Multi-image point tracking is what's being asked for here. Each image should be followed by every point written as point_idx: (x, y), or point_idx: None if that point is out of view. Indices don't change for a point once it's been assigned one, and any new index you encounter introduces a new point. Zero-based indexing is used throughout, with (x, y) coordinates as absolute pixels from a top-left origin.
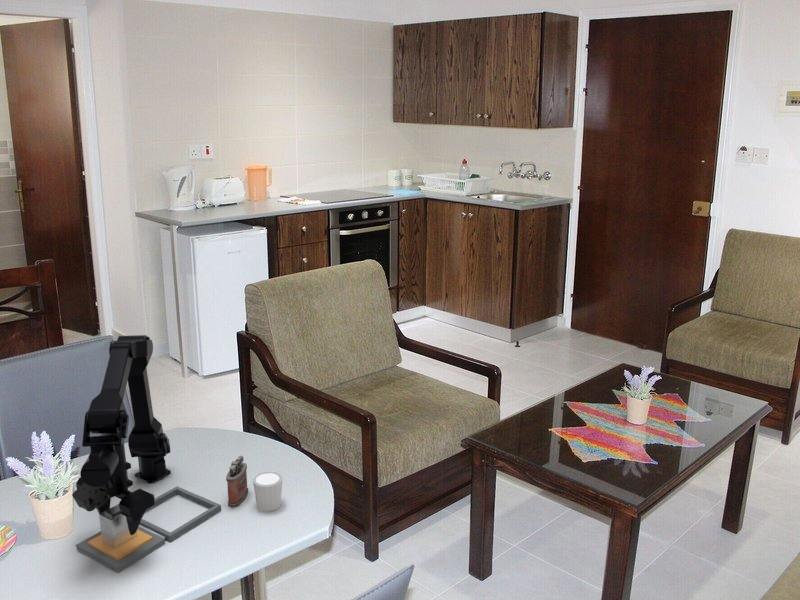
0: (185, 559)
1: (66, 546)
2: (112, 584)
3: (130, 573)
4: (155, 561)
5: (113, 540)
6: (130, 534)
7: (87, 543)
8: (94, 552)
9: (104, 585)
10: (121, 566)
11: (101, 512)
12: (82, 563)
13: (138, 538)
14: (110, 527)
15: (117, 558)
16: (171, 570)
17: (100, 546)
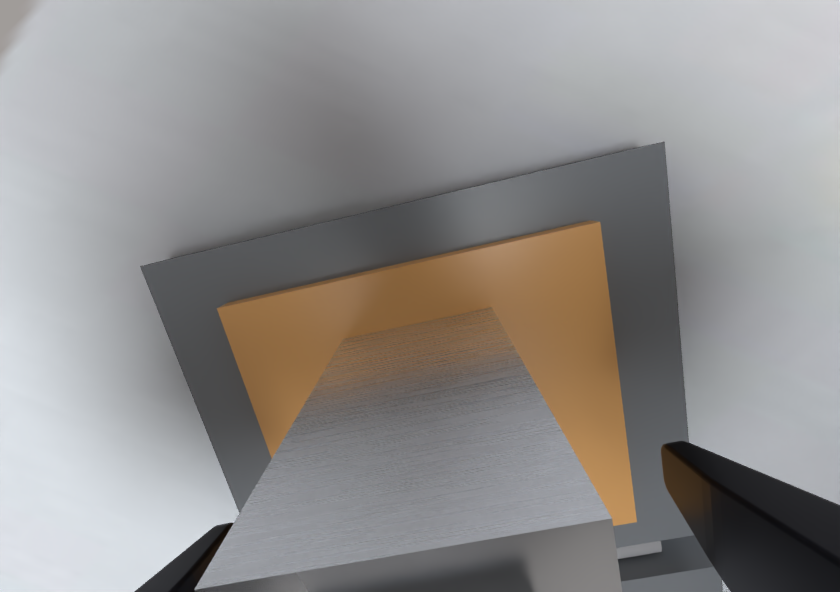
0: (79, 577)
1: (745, 104)
2: (62, 174)
3: (118, 313)
4: (154, 466)
5: (323, 374)
6: (226, 525)
7: (604, 223)
8: (444, 215)
9: (79, 126)
10: (156, 293)
11: (762, 526)
12: (438, 111)
13: None
14: (303, 456)
15: (219, 307)
16: (18, 489)
17: (456, 275)
